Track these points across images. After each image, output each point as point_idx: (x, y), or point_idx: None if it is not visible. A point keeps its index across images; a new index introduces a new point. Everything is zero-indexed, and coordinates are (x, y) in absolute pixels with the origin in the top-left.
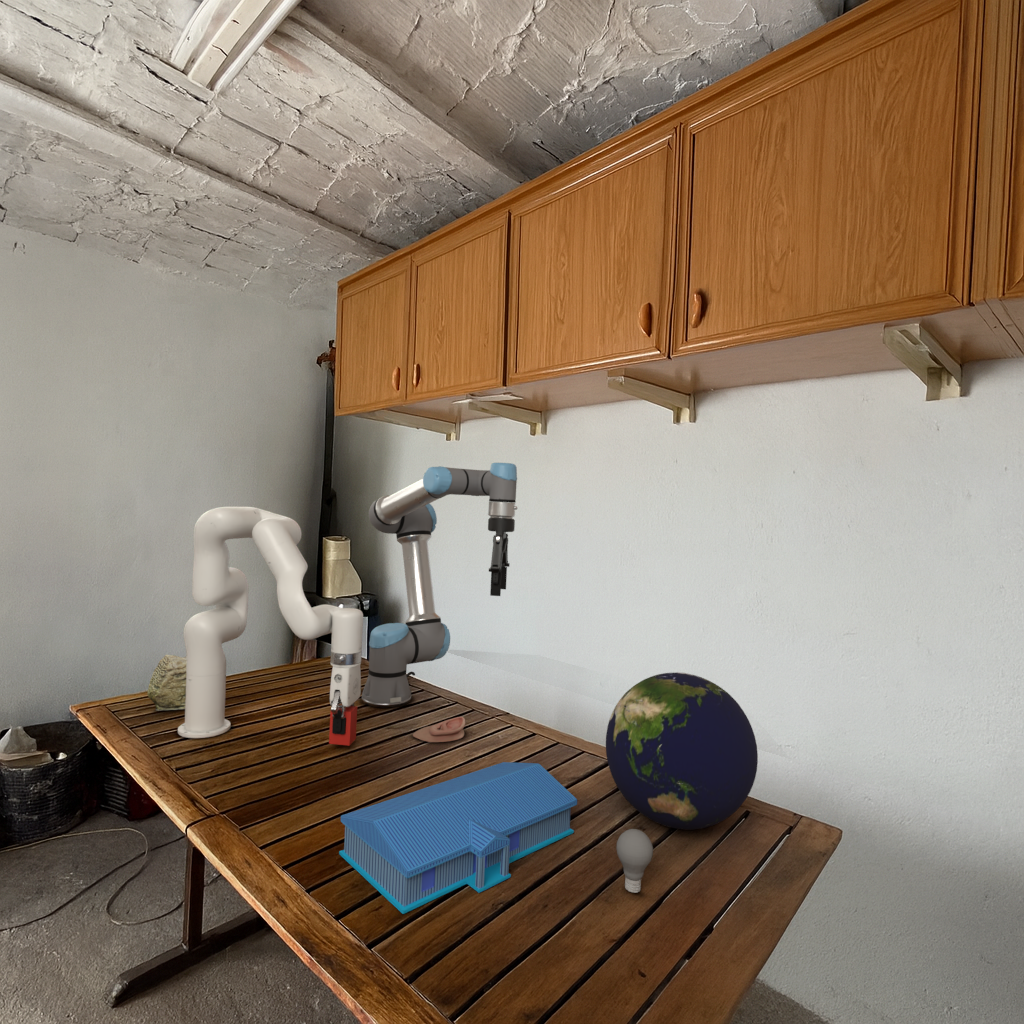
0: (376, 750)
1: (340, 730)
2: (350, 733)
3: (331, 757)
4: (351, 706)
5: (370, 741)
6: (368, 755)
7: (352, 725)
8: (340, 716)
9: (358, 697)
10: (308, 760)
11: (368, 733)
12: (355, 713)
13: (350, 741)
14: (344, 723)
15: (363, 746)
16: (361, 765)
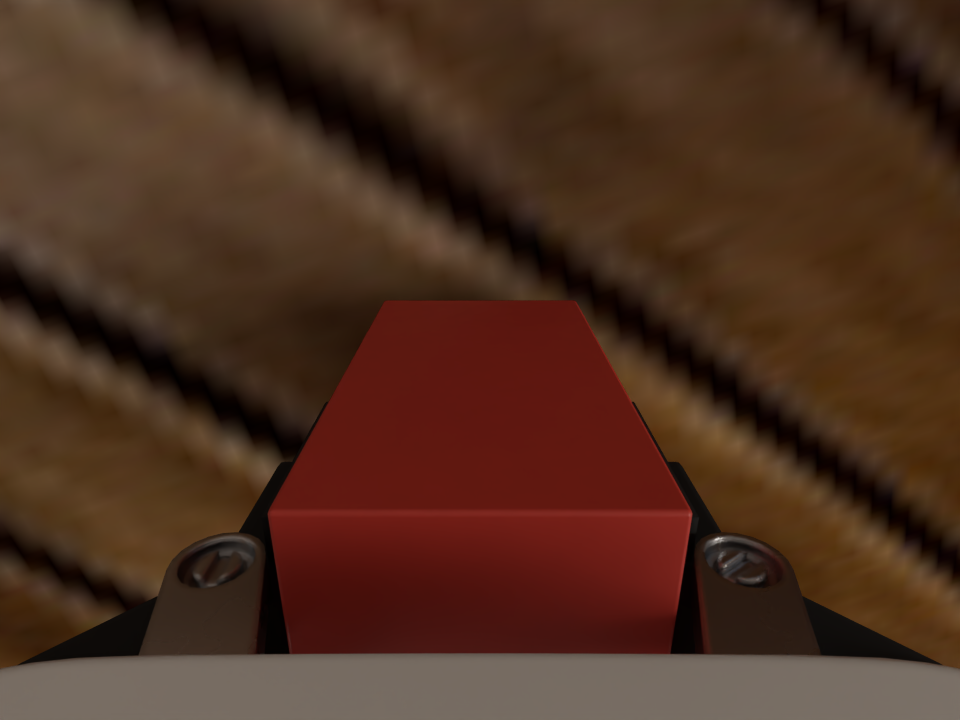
0: (474, 18)
1: (675, 462)
2: (587, 340)
3: (697, 386)
4: (333, 610)
5: (261, 171)
6: (618, 63)
7: (530, 372)
8: (812, 609)
9: (125, 684)
10: (765, 519)
11: (74, 263)
12: (402, 444)
13: (555, 310)
14: (673, 476)
15: (404, 198)
16: (875, 50)
